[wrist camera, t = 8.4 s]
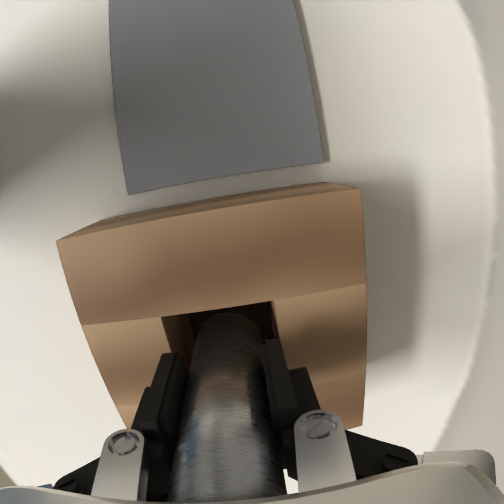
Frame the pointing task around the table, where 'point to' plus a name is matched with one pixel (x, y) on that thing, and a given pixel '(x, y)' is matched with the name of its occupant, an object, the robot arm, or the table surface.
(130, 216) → the socket block
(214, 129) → the mat
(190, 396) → the peg
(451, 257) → the table surface
